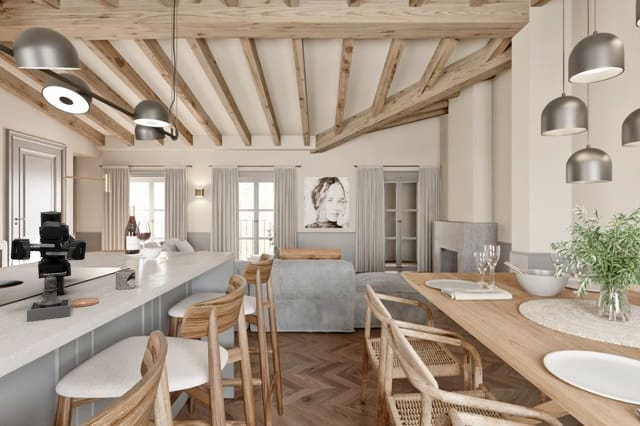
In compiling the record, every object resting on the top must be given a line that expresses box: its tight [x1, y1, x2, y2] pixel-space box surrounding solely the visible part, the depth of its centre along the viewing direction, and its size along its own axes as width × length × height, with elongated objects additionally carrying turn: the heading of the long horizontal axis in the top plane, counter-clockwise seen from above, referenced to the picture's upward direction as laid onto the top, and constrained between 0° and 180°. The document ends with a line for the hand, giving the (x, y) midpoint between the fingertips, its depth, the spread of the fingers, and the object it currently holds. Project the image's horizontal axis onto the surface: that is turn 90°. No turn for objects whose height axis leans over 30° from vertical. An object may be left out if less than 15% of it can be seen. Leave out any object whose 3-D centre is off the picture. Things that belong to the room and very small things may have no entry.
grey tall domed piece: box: [38, 273, 63, 309], centre depth 104 cm, size 6×6×12 cm
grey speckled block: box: [115, 269, 136, 291], centre depth 141 cm, size 10×7×7 cm, turn 5°
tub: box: [26, 298, 72, 323], centre depth 104 cm, size 10×10×3 cm
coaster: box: [71, 297, 100, 308], centre depth 116 cm, size 8×8×1 cm
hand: (48, 256), depth 107 cm, fingers open, 9 cm apart
